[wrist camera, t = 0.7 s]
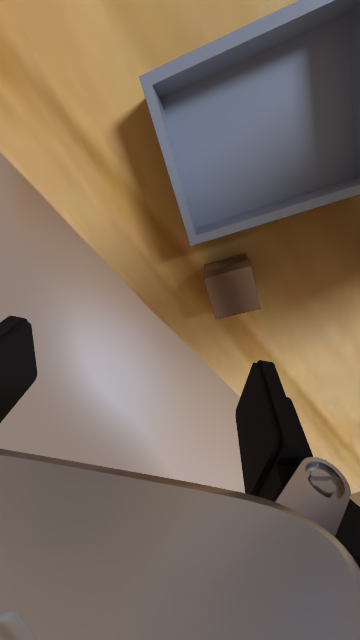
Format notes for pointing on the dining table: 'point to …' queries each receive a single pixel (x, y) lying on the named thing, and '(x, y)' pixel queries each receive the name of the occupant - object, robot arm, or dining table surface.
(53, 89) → the dining table surface
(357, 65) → the tote
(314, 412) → the dining table surface
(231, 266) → the walnut cube
